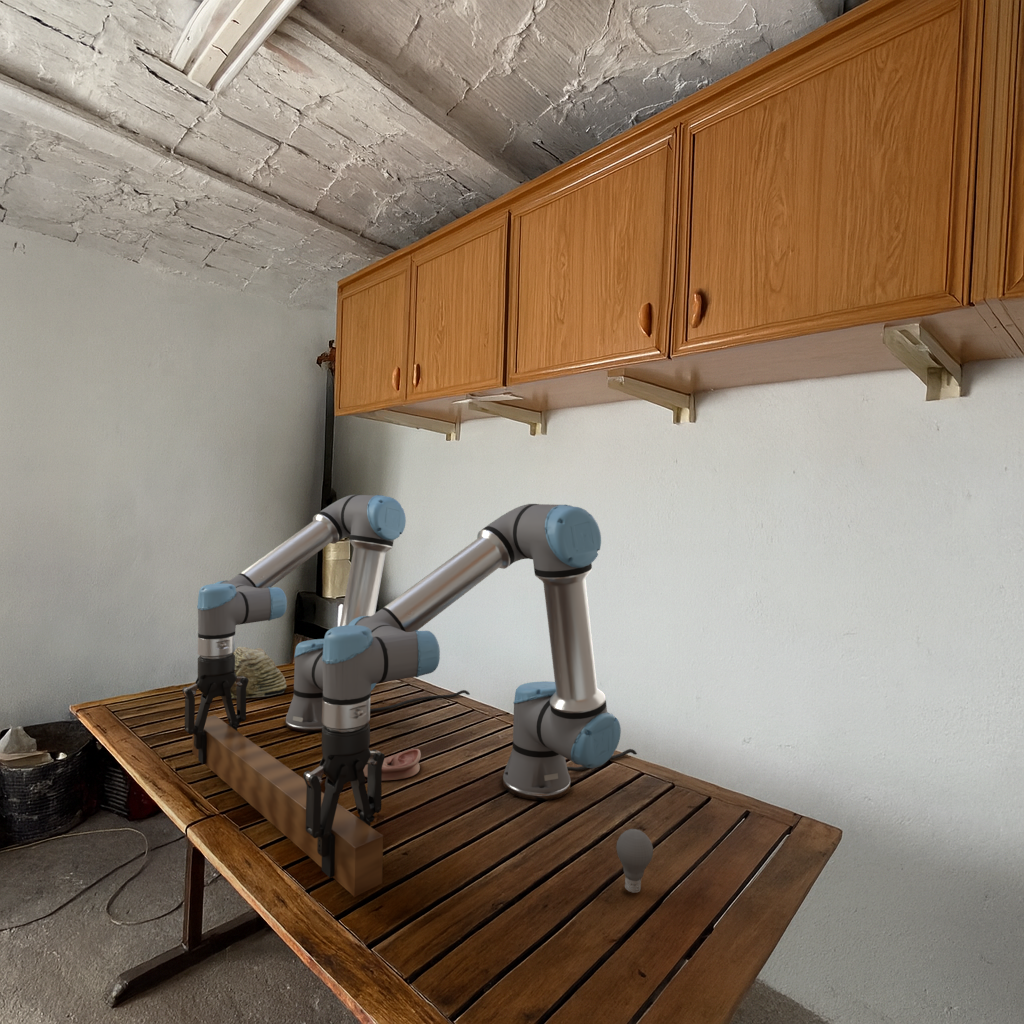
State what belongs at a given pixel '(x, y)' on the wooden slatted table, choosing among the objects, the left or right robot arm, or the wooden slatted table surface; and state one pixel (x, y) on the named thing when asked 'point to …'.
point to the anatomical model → (400, 765)
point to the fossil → (257, 673)
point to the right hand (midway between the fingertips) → (343, 865)
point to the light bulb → (634, 857)
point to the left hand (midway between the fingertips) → (215, 757)
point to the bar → (292, 805)
